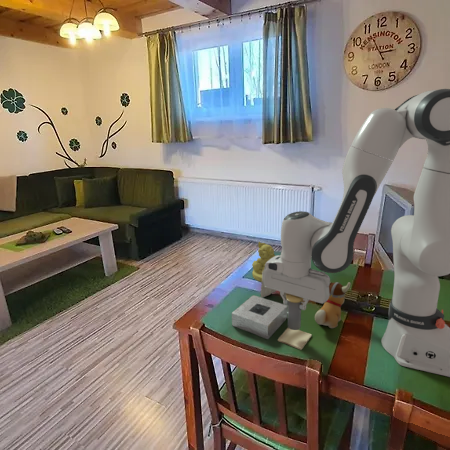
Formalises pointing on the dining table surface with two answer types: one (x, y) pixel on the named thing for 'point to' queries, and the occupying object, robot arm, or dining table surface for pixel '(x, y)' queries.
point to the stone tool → (265, 290)
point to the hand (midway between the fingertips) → (294, 306)
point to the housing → (259, 316)
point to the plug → (294, 311)
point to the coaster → (295, 338)
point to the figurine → (262, 260)
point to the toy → (332, 305)
